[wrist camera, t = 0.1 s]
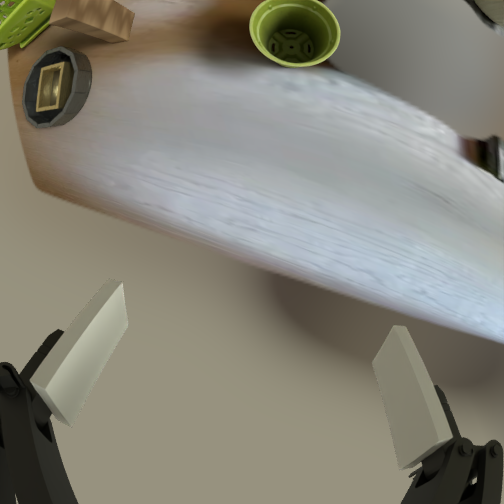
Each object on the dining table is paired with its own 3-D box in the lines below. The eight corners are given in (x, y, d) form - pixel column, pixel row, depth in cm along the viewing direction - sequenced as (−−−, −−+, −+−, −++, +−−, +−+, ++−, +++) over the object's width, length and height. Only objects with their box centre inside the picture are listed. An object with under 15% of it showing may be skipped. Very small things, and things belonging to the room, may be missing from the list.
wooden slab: (118, 16, 26) (60, -11, 12) (134, 13, 26) (78, -19, 12) (111, 43, 28) (48, 23, 15) (128, 40, 28) (66, 16, 15)
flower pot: (75, 13, 24) (28, -2, 13) (25, 57, 27) (-22, 56, 16) (70, -29, 19) (31, -46, 7) (22, 12, 21) (-18, 7, 10)
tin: (43, 58, 28) (29, 57, 24) (98, 44, 28) (84, 40, 24) (35, 127, 34) (20, 130, 30) (87, 123, 34) (71, 124, 30)
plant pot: (256, 80, 31) (252, 67, 23) (252, 20, 27) (246, -5, 19) (328, 80, 30) (344, 68, 22) (322, 20, 26) (334, -4, 18)
